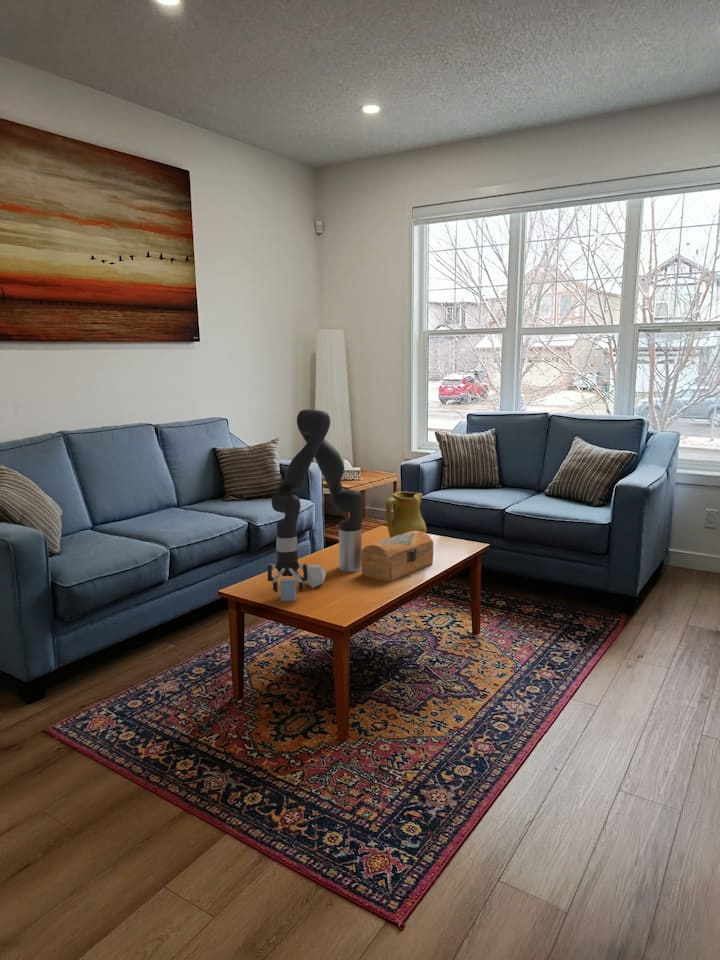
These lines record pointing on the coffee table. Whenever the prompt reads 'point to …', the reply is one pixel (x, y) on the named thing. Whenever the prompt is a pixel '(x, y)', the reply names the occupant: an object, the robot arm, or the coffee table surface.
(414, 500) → the pitcher
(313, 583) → the die
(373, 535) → the coffee table surface
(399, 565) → the wooden box
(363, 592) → the coffee table surface
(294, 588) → the block
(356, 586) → the coffee table surface
